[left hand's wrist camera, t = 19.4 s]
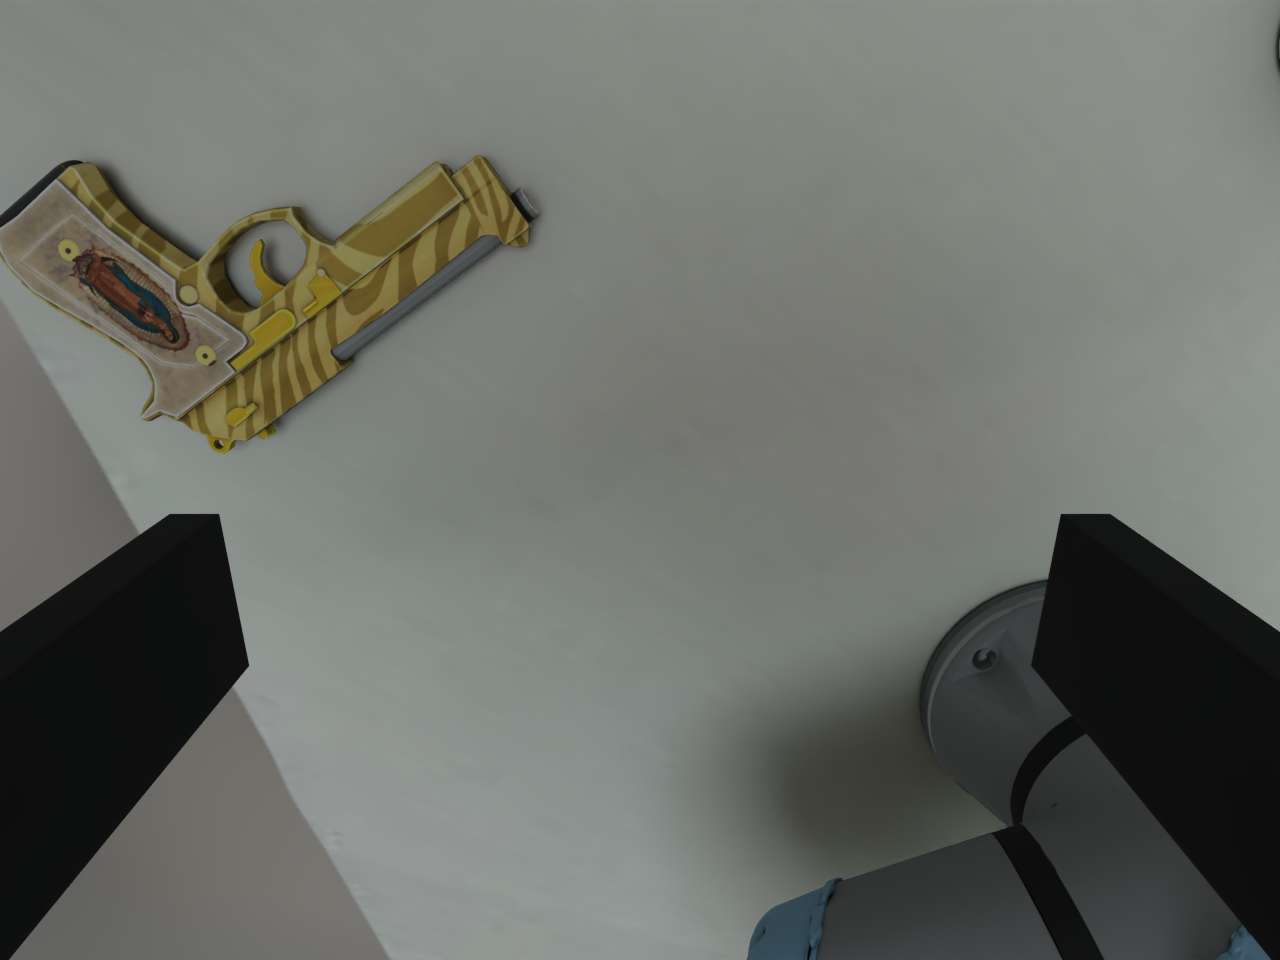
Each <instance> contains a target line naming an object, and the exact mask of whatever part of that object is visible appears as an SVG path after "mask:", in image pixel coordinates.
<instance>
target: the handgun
mask: <svg viewBox="0 0 1280 960" xmlns="http://www.w3.org/2000/svg"><path fill="white" fill-rule="evenodd" d="M538 215H539V212H538V210H537V208H536V206H535V205H534V203H533V202H532V200H531V199H530V198H529V196H528V195H527V194H526V192H525V191H524V190H523V189H522V188H519V189H518V190H516V191H515V192H514V193H512V194H511V192H510V191H509V189H508V188H507V187H506V185H505V184H504V183H503V181H502V180H501V178H500V177H499V175H498V174H497V172H496V171H495V170H494V168H493V167H492V165H491V164H490V163H489V161H488V160H487V159H486V158H485V157H482V156H479V155H477V156H476V157H475V158H473V159H472V160H471V161H469V162H468V163H467V164H466V165H464V166H463V167H462V168H460V169H459V170H458V171H457V172H455V173H454V174H453V172H452V171H451V170H450V168H449V167H448V166H447V165H445V164H441V163H438V162H436V161H435V162H434V163H432V164H431V165H430V166H429V167H427V168H426V169H425V170H424V171H422V172H421V173H420V174H418V175H417V176H416V177H415V178H413V179H412V180H411V181H410V182H408V183H407V184H406V185H405V186H403V187H402V188H401V189H399V190H398V191H397V192H396V193H394V194H393V195H392V196H391V197H389V198H388V199H387V200H385V201H384V202H383V203H382V204H380V205H379V206H378V207H377V208H375V209H374V210H373V211H372V212H370V213H369V214H368V215H366V216H365V217H364V218H363V219H361V220H360V221H359V222H358V223H356V224H355V225H354V226H352V227H351V228H350V229H349V230H347V231H346V232H345V233H344V234H342V235H341V236H340V237H339V238H337V239H336V242H335V243H334V242H331V241H329V240H326V239H325V238H323V237H322V236H320V235H319V234H318V233H316V232H315V231H314V230H313V229H312V227H311V226H310V225H309V224H308V223H307V221H306V220H305V219H304V217H303V216H302V212H301V207H282V208H273V209H269V210H264V211H260V212H255V213H253V214H251V215H249V216H247V217H245V218H243V219H241V220H239V221H238V222H236V223H235V224H234V225H232V226H231V227H230V228H229V229H228V230H227V231H226V232H225V233H224V234H223V235H222V236H221V237H220V238H219V239H218V240H217V241H216V242H215V243H214V244H213V245H212V246H211V247H210V249H209V250H208V251H207V252H206V253H205V254H204V256H203V257H202V258H201V259H200V260H199V261H196V260H194V259H192V258H190V257H188V256H187V255H186V254H184V253H183V252H181V251H180V250H179V249H177V248H176V247H175V246H173V245H172V244H170V243H169V242H168V241H166V240H165V239H163V238H162V237H161V236H159V235H158V234H156V233H155V232H154V231H152V230H151V229H150V228H148V227H147V226H145V225H144V224H143V223H141V222H140V221H139V220H138V219H137V218H136V217H135V216H134V215H133V214H132V213H131V212H130V210H129V209H128V208H127V207H126V206H125V205H124V204H123V203H122V202H121V201H120V200H119V199H118V197H117V196H116V194H115V193H114V191H113V189H112V187H111V186H110V184H109V182H108V181H107V179H106V177H105V176H104V174H103V173H102V171H101V170H100V169H98V168H97V167H96V166H95V165H94V164H92V163H89V162H86V163H84V162H81V161H77V160H71V161H66V162H64V163H61V164H60V165H58V166H57V167H55V168H54V169H53V170H52V171H50V172H49V173H48V174H47V175H46V176H45V177H44V178H43V179H41V180H40V181H39V182H38V183H37V184H36V185H35V186H33V187H32V188H31V189H30V190H29V191H28V192H27V193H25V194H24V195H23V196H22V197H21V198H20V199H19V200H18V201H16V202H15V203H14V204H13V205H12V206H11V207H10V208H8V209H7V210H6V211H5V212H4V213H3V214H2V215H1V216H0V257H1V259H2V260H3V262H4V263H5V265H6V266H7V268H8V269H9V271H10V272H11V273H12V274H13V275H14V276H15V277H16V278H17V279H18V280H19V281H20V282H21V283H22V284H23V285H24V286H25V287H26V288H27V289H28V290H29V291H30V292H31V293H32V294H33V295H34V296H36V297H37V298H39V299H41V300H42V301H44V302H45V303H47V304H48V305H50V306H51V307H53V308H54V309H56V310H58V311H59V312H61V313H62V314H64V315H66V316H68V317H69V318H71V319H73V320H75V321H76V322H78V323H80V324H82V325H83V326H85V327H87V328H89V329H90V330H92V331H94V332H95V333H97V334H99V335H100V336H103V337H105V338H106V339H108V340H110V341H111V342H113V343H114V344H116V345H117V346H119V347H120V348H122V349H123V350H125V351H126V352H128V353H129V354H130V355H132V356H133V357H135V358H136V359H137V360H138V361H139V362H140V363H141V364H142V365H143V366H144V368H145V369H146V371H147V373H148V375H149V377H150V379H151V381H152V392H151V395H150V397H149V399H148V400H147V402H146V404H145V406H144V408H143V410H142V413H141V415H140V417H141V419H142V420H144V421H152V420H154V419H156V418H158V417H159V416H161V415H166V416H168V417H170V418H172V419H174V420H176V421H180V422H183V423H184V424H185V425H187V426H188V427H189V428H190V429H192V430H193V431H196V432H199V433H202V434H205V435H206V436H207V439H208V442H209V445H210V447H211V448H212V449H213V450H214V451H215V452H218V453H226V452H228V451H229V450H231V449H232V448H233V447H234V446H235V442H236V440H243V441H247V440H249V439H251V438H252V437H254V436H255V435H258V436H259V437H260V438H262V439H265V440H266V439H268V438H269V435H274V434H275V433H276V429H275V427H274V426H273V425H272V423H273V422H275V421H276V420H277V419H279V418H280V417H281V416H283V415H284V414H285V413H287V412H288V411H289V410H291V409H292V408H294V407H295V406H296V405H298V404H299V403H300V402H302V401H303V400H304V399H306V398H307V397H308V396H310V395H311V394H312V393H314V392H315V391H316V390H318V389H319V388H320V387H322V386H323V385H324V384H326V383H327V382H328V381H330V380H331V379H332V378H334V377H335V376H336V375H338V374H339V373H340V372H342V371H343V370H344V369H346V368H347V367H348V366H350V365H351V364H352V360H351V359H350V356H352V355H353V354H354V353H356V352H357V351H358V350H360V349H361V348H362V347H364V346H365V345H366V344H368V343H369V342H370V341H372V340H373V339H374V338H376V337H377V336H378V335H380V334H381V333H382V332H384V331H385V330H386V329H388V328H389V327H390V326H392V325H393V324H394V323H396V322H397V321H398V320H400V319H401V318H402V317H404V316H405V315H406V314H408V313H409V312H410V311H412V310H413V309H414V308H416V307H417V306H418V305H420V304H421V303H422V302H424V301H425V300H426V299H428V298H429V297H430V296H432V295H433V294H434V293H436V292H437V291H438V290H440V289H441V288H442V287H444V286H445V285H446V284H448V283H449V282H450V281H452V280H453V279H454V278H456V277H457V276H458V275H460V274H461V273H462V272H464V271H465V270H466V269H468V268H469V267H470V266H472V265H473V264H474V263H476V262H477V261H478V260H480V259H481V258H482V257H484V256H485V255H486V254H488V253H489V252H490V251H492V250H493V249H494V248H496V247H497V246H498V245H500V244H501V243H503V245H510V246H515V247H524V246H525V245H526V244H528V243H529V235H530V228H531V227H532V222H531V221H532V220H533V219H534V218H536V217H537V216H538ZM275 220H285V221H286V222H287V223H289V224H290V225H291V226H292V227H293V228H294V229H295V230H296V231H297V233H298V234H299V235H300V236H301V238H302V239H303V241H304V242H305V244H306V249H307V252H306V259H305V262H304V265H303V267H302V268H301V269H300V271H299V272H298V273H297V274H296V275H295V276H294V277H293V279H292V280H291V281H290V282H289V283H288V284H287V285H286V286H284V285H282V284H280V283H278V282H277V281H275V280H274V279H273V278H272V277H271V276H270V275H269V274H268V273H267V272H266V270H265V268H264V266H263V258H262V256H263V251H264V246H265V244H264V242H263V240H262V239H260V240H259V241H258V242H257V243H255V244H254V247H253V249H252V252H251V254H250V266H251V269H252V271H253V274H254V275H255V277H256V280H255V281H254V283H255V285H256V286H257V287H258V289H259V290H260V291H261V292H262V293H263V296H262V298H261V301H260V307H259V308H254V307H250V306H247V305H246V304H245V303H244V302H243V301H242V300H241V299H240V298H239V297H238V296H237V295H236V293H235V292H234V290H233V289H232V287H231V285H230V283H229V281H228V280H227V278H226V276H225V269H224V260H225V257H226V255H227V253H228V251H229V249H230V248H231V247H232V246H233V245H234V243H235V242H236V241H237V240H238V239H239V237H240V236H241V235H243V234H244V233H245V232H246V231H247V230H249V229H250V228H252V227H255V226H257V225H260V224H262V223H265V222H268V221H275ZM219 440H222V442H223V443H224V446H222V445H221V444H220V443H219Z"/></svg>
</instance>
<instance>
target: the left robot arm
mask: <svg viewBox="0 0 1280 960" xmlns="http://www.w3.org/2000/svg"><path fill="white" fill-rule="evenodd" d="M248 666H249V662H248V657H247V652H246V647H245V642H244V637H243V632H242V627H241V622H240V617H239V612H238V607H237V602H236V597H235V592H234V587H233V582H232V577H231V572H230V567H229V562H228V557H227V552H226V547H225V542H224V537H223V531H222V526H221V521H220V516H219V514H169V515H168V516H166V517H165V518H163V519H162V520H161V521H159V522H158V523H156V524H155V525H153V526H152V527H150V528H149V529H148V530H146V531H145V532H143V533H142V534H140V535H139V536H138V537H136V538H135V539H133V540H132V541H130V542H129V543H128V544H126V545H125V546H123V547H122V548H120V549H119V550H117V551H116V552H115V553H113V554H112V555H110V556H109V557H107V558H106V559H104V560H103V561H102V562H100V563H99V564H97V565H96V566H94V567H93V568H92V569H90V570H89V571H87V572H86V573H84V574H83V575H81V576H80V577H79V578H77V579H76V580H74V581H73V582H71V583H70V584H68V585H67V586H66V587H64V588H63V589H61V590H60V591H58V592H57V593H56V594H54V595H53V596H51V597H50V598H48V599H47V600H45V601H44V602H43V603H41V604H40V605H38V606H37V607H35V608H34V609H33V610H31V611H30V612H28V613H27V614H25V615H24V616H22V617H21V618H20V619H18V620H17V621H15V622H14V623H12V624H11V625H10V626H8V627H7V628H5V629H4V630H2V631H1V632H0V960H9V959H10V958H11V956H12V955H13V954H14V953H15V952H16V950H17V949H18V948H19V947H20V945H21V944H22V943H23V942H24V941H25V939H26V938H27V937H28V936H29V934H30V933H31V932H32V931H33V930H34V928H35V927H36V926H37V925H38V923H39V922H40V921H41V920H42V918H43V917H44V916H45V915H46V914H47V912H48V911H49V910H50V909H51V907H52V906H53V905H54V904H55V903H56V901H57V900H58V899H59V898H60V897H61V895H62V894H63V893H64V892H65V890H66V889H67V888H68V887H69V885H70V884H71V883H72V882H73V880H74V879H75V878H76V877H77V876H78V874H79V873H80V872H81V871H82V870H83V868H84V867H85V866H86V865H87V863H88V862H89V861H90V860H91V859H92V857H93V856H94V855H95V854H96V852H97V851H98V850H99V849H100V848H101V846H102V845H103V844H104V843H105V841H106V840H107V839H108V838H109V837H110V835H111V834H112V833H113V832H114V830H115V829H116V828H117V827H118V826H119V824H120V823H121V822H122V821H123V819H124V818H125V817H126V816H127V815H128V813H129V812H130V811H131V810H132V808H133V807H134V806H135V805H136V803H137V802H138V801H139V800H140V799H141V797H142V796H143V795H144V794H145V792H146V791H147V790H148V789H149V788H150V786H151V785H152V784H153V783H154V781H155V780H156V779H157V778H158V777H159V775H160V774H161V773H162V772H163V770H164V769H165V768H166V767H167V765H168V764H169V763H170V762H171V761H172V759H173V758H174V757H175V756H176V755H177V753H178V752H179V751H180V750H181V748H182V747H183V746H184V745H185V744H186V742H187V741H188V740H189V739H190V737H191V736H192V735H193V734H194V733H195V731H196V730H197V729H198V728H199V726H200V725H201V724H202V723H203V721H204V720H205V719H206V718H207V717H208V715H209V714H210V713H211V712H212V710H213V709H214V708H215V707H216V706H217V704H218V703H219V702H220V701H221V699H222V698H223V697H224V696H225V695H226V693H227V692H228V691H229V690H230V688H231V687H232V686H233V685H234V684H235V682H236V681H237V680H238V679H239V677H240V676H241V675H242V674H243V673H244V671H245V670H246V669H247V668H248ZM920 713H921V720H922V724H923V728H924V731H925V734H926V737H927V739H928V741H929V743H930V745H931V746H932V748H933V750H934V752H935V754H936V756H937V758H938V760H939V762H940V764H941V765H942V767H943V768H944V770H945V771H946V772H947V773H948V775H949V776H950V777H951V778H952V779H953V780H954V781H955V782H956V783H957V784H958V785H959V786H960V787H962V788H963V789H964V790H965V791H966V792H967V793H969V794H970V795H972V796H973V797H975V798H976V799H977V800H978V801H979V802H980V803H981V804H982V805H984V806H985V807H986V808H987V809H988V810H989V811H990V812H992V813H993V814H994V815H995V816H996V817H997V818H999V819H1000V820H1001V821H1002V822H1003V823H1005V824H1006V825H1007V826H1008V828H1005V829H1002V830H999V831H996V832H992V833H988V834H985V835H982V836H979V837H976V838H973V839H970V840H967V841H964V842H960V843H957V844H954V845H951V846H948V847H945V848H942V849H939V850H936V851H933V852H930V853H927V854H924V855H921V856H917V857H914V858H911V859H908V860H905V861H902V862H899V863H896V864H893V865H890V866H887V867H884V868H881V869H878V870H875V871H871V872H868V873H865V874H862V875H859V876H856V877H853V878H850V879H847V880H843V879H842V878H835V879H832V880H830V881H828V882H827V883H826V884H825V886H824V887H823V888H820V889H818V890H815V891H813V892H810V893H808V894H805V895H803V896H800V897H798V898H795V899H793V900H790V901H788V902H785V903H783V904H780V905H777V906H775V907H774V908H772V909H771V910H769V911H768V912H767V913H766V914H765V915H764V916H763V917H762V918H761V920H760V921H759V922H758V924H757V926H756V928H755V930H754V933H753V935H752V937H751V941H750V946H749V951H748V958H747V960H1280V632H1279V631H1278V630H1276V629H1275V628H1273V627H1272V626H1271V625H1269V624H1268V623H1266V622H1265V621H1263V620H1262V619H1260V618H1259V617H1258V616H1256V615H1255V614H1253V613H1252V612H1250V611H1249V610H1248V609H1246V608H1245V607H1243V606H1242V605H1240V604H1239V603H1237V602H1236V601H1235V600H1233V599H1232V598H1230V597H1229V596H1227V595H1226V594H1224V593H1223V592H1222V591H1220V590H1219V589H1217V588H1216V587H1214V586H1213V585H1212V584H1210V583H1209V582H1207V581H1206V580H1204V579H1203V578H1201V577H1200V576H1199V575H1197V574H1196V573H1194V572H1193V571H1191V570H1190V569H1189V568H1187V567H1186V566H1184V565H1183V564H1181V563H1180V562H1178V561H1177V560H1176V559H1174V558H1173V557H1171V556H1170V555H1168V554H1167V553H1165V552H1164V551H1163V550H1161V549H1160V548H1158V547H1157V546H1155V545H1154V544H1153V543H1151V542H1150V541H1148V540H1147V539H1145V538H1144V537H1142V536H1141V535H1140V534H1138V533H1137V532H1135V531H1134V530H1132V529H1131V528H1130V527H1128V526H1127V525H1125V524H1124V523H1122V522H1121V521H1119V520H1118V519H1117V518H1115V517H1114V516H1112V515H1111V514H1061V516H1060V521H1059V526H1058V531H1057V537H1056V542H1055V547H1054V552H1053V557H1052V562H1051V567H1050V572H1049V577H1048V581H1046V582H1041V583H1035V584H1031V585H1028V586H1024V587H1021V588H1018V589H1015V590H1012V591H1009V592H1007V593H1005V594H1003V595H1000V596H998V597H996V598H994V599H992V600H991V601H989V602H987V603H985V604H984V605H982V606H981V607H979V608H978V609H976V610H975V611H973V612H972V613H971V614H969V615H968V616H967V617H966V618H964V619H963V620H962V621H961V622H960V623H959V624H958V625H957V626H956V627H955V628H954V629H953V630H952V631H951V632H950V633H949V634H948V635H947V636H946V638H945V639H944V640H943V642H942V643H941V644H940V646H939V647H938V649H937V651H936V652H935V654H934V655H933V657H932V659H931V661H930V663H929V665H928V668H927V671H926V673H925V676H924V680H923V684H922V688H921V695H920Z"/></svg>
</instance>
